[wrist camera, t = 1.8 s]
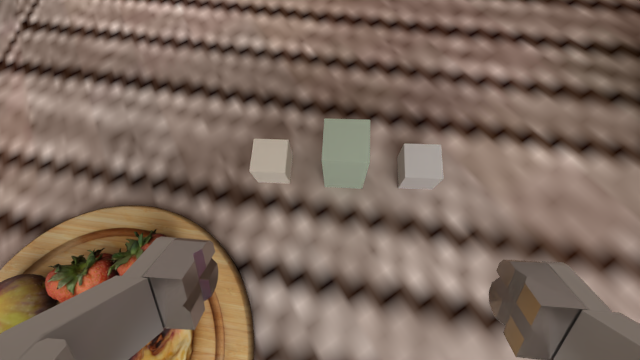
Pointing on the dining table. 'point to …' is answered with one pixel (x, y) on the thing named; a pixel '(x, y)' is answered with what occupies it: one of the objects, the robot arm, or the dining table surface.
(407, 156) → the grey block
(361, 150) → the sage-green pillar
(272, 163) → the cream block
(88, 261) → the wooden plate with food
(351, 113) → the dining table surface
